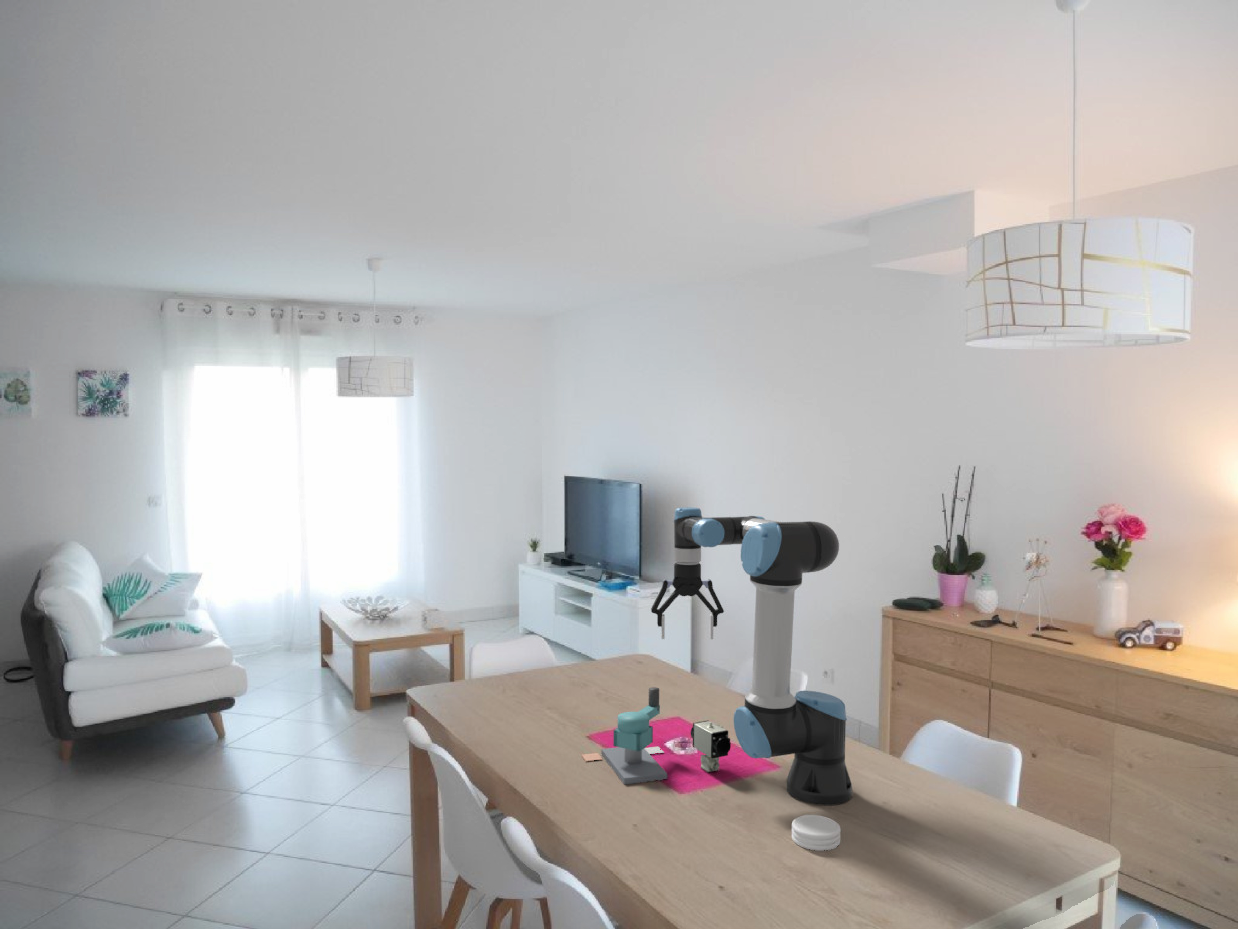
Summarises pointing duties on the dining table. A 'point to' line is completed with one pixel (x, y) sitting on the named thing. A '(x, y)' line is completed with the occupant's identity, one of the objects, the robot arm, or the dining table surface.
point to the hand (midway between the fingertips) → (687, 638)
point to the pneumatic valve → (710, 743)
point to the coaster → (816, 832)
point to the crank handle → (637, 725)
